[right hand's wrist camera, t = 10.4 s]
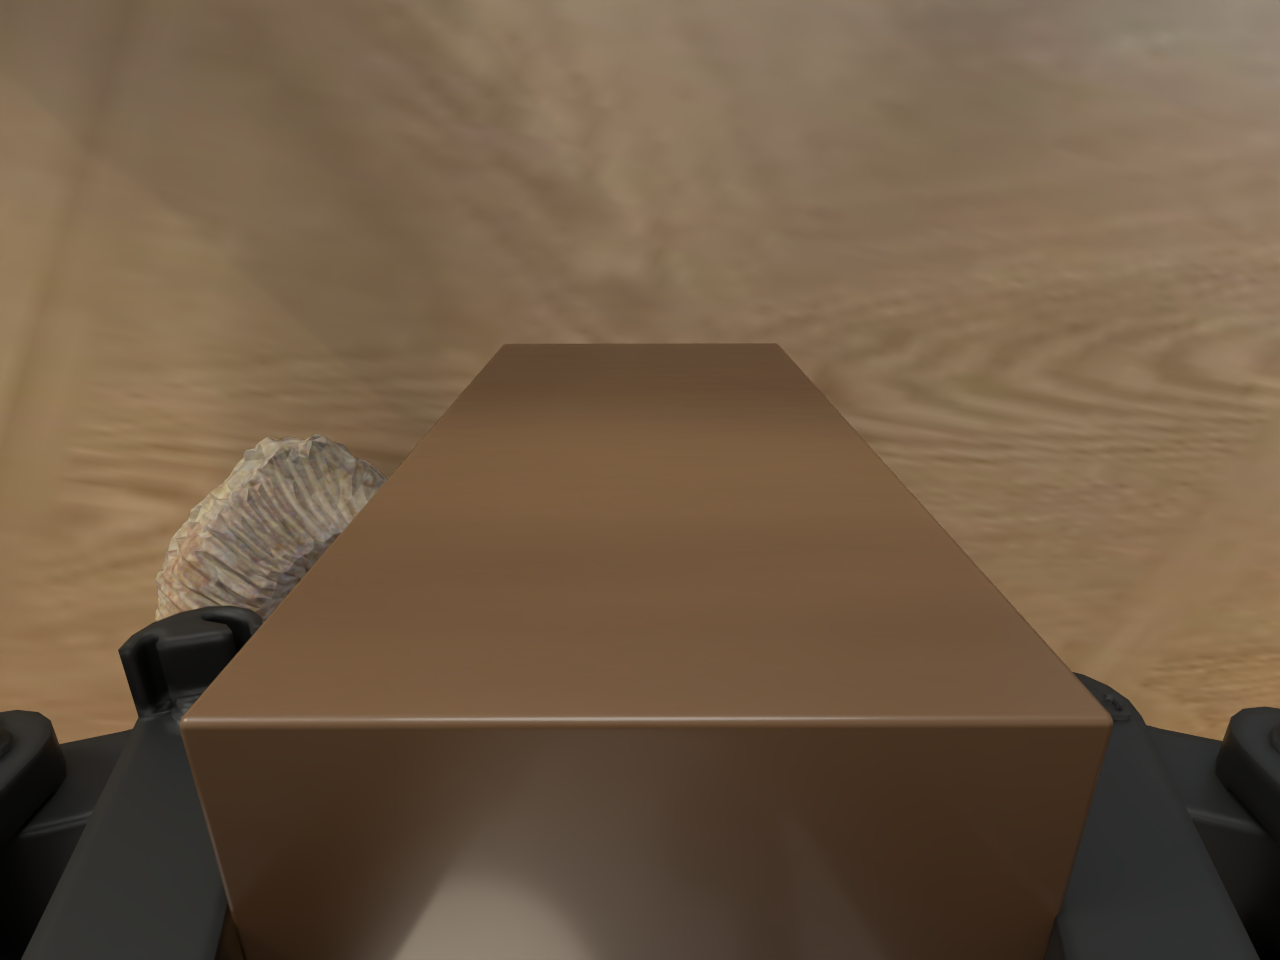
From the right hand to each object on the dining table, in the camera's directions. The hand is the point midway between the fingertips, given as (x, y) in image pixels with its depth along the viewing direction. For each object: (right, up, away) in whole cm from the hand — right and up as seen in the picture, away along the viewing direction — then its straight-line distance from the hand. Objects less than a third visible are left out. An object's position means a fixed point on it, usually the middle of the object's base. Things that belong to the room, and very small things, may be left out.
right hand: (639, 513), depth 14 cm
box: (0, -9, +6) cm, 11 cm away
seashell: (-12, -3, +17) cm, 21 cm away
